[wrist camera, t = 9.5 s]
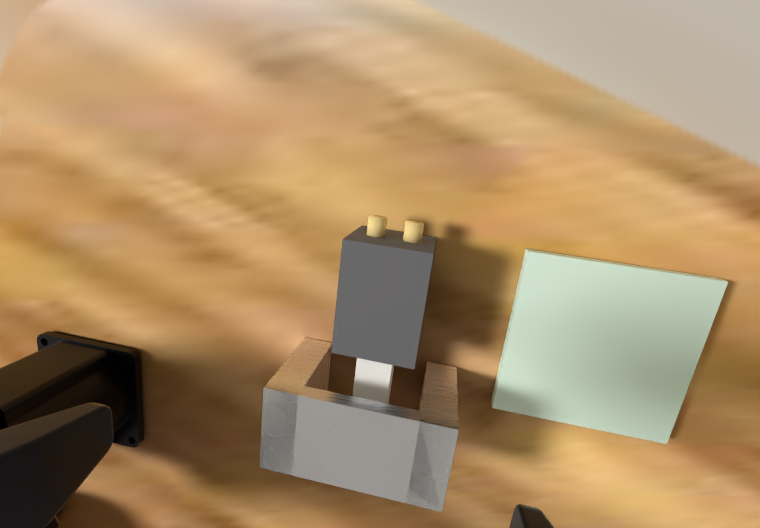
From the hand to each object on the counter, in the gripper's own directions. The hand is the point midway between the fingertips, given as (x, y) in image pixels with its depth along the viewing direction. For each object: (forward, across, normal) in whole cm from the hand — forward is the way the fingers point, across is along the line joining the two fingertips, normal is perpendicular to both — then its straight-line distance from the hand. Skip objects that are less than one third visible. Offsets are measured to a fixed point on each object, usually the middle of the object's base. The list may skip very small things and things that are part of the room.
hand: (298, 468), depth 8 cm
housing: (+12, 0, +6) cm, 13 cm away
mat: (+12, -10, +1) cm, 16 cm away
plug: (+12, 0, +3) cm, 12 cm away
